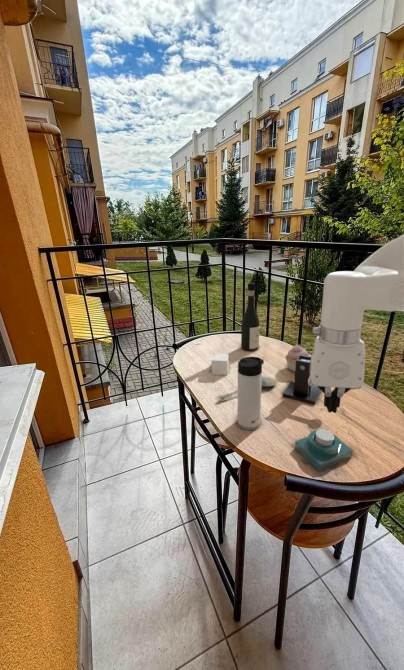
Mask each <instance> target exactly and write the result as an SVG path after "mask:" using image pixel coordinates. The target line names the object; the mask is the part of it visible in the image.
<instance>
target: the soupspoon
mask: <svg viewBox="0 0 404 670" xmlns="http://www.w3.org/2000/svg"><path fill="white" fill-rule="evenodd" d="M275 386H276V383H275V382H274V381H273V380H272V379H269V378H268V377H263V376H262V384H261V387H275ZM234 394H238V389H237V390H235V391H233V392H230V393H226V394H225V395H221V396H220V395H219V400H220V402H223V400H225V399H226V398H227V397H230V396H233V395H234Z"/></svg>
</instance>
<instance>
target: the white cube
mask: <svg viewBox="0 0 404 670" xmlns="http://www.w3.org/2000/svg"><path fill="white" fill-rule="evenodd" d="M229 356H230V355H229V354H228V353H213V354H212V357H211V361H210V363H211V375H215V376H216V375H217V376H219V375H220V376H228V374H229V369H230V368H229V367H230V365H229V364H230V363H229V362H230V361H229V358H230V357H229Z"/></svg>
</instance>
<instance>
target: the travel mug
mask: <svg viewBox="0 0 404 670" xmlns="http://www.w3.org/2000/svg"><path fill="white" fill-rule="evenodd" d="M264 363H265V362H264V358H263V359H262V358H260V357H259V356H246V357H243V358H241V359H239V361H238V362H237V390H238V392H237V425H238V427H240V428H241V429H243V430H246V431H254V430H257V429H258V428H259V427H260V426H261V411H262V410H261V409H262V406H261V405H262V386H261V384H262V377H263V365H264Z"/></svg>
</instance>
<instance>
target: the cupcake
mask: <svg viewBox="0 0 404 670" xmlns="http://www.w3.org/2000/svg"><path fill="white" fill-rule="evenodd" d="M300 355H305V356H310V354H309V352H307V350H306V349H305V348H303V347H302V346H301V345H300V344H297V345H294V346H293V347H292V348H291V349H290V350H288V353H287V354H286V355H285V356H284V358H285V361H286V363H287V368H288V370H289V371H291V372H293V373H295V368H296V360H297V359H298V360H299V356H300Z"/></svg>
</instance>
